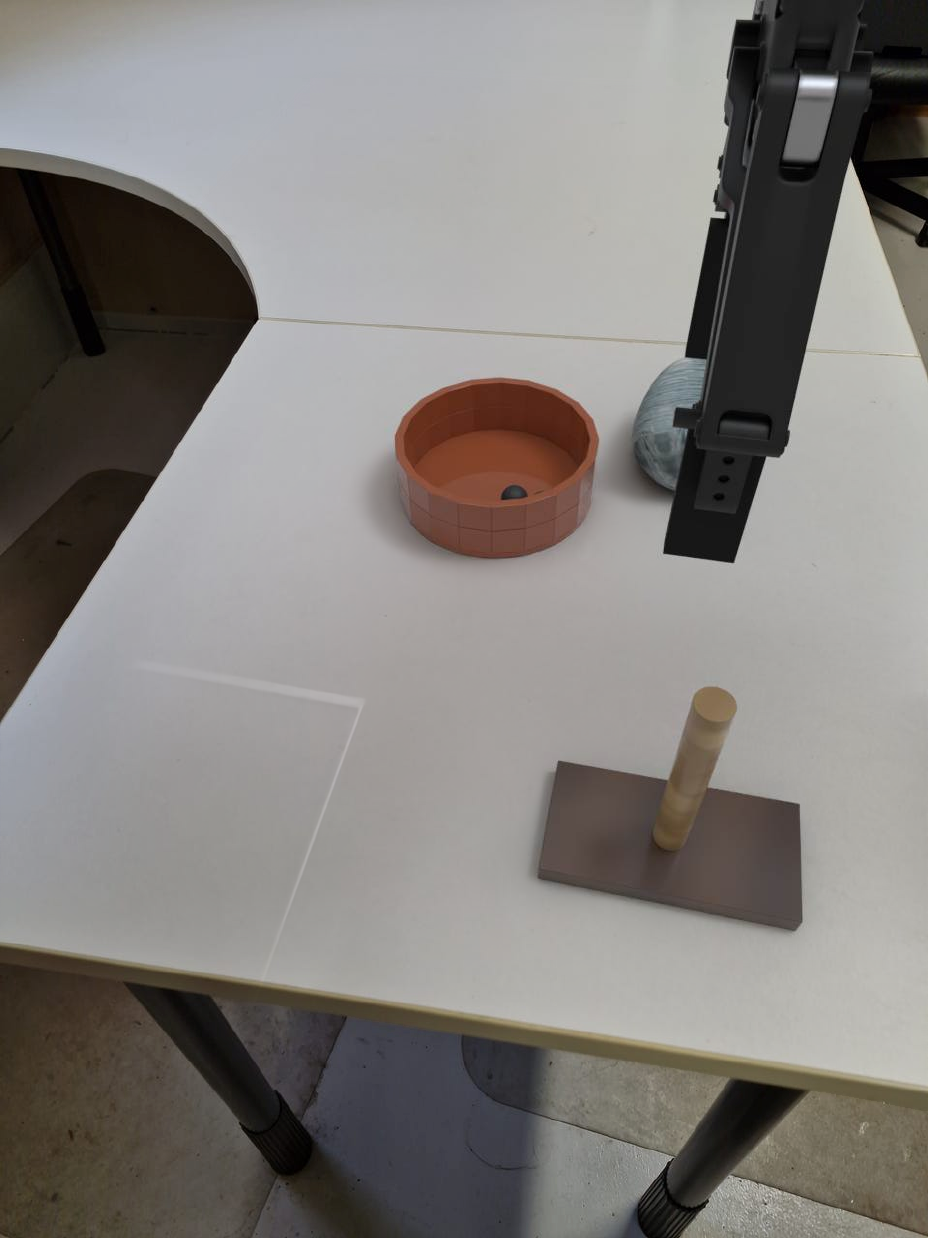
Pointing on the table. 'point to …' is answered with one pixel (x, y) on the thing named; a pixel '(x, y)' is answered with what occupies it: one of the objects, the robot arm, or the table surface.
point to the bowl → (496, 466)
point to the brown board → (690, 877)
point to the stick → (693, 765)
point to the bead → (513, 493)
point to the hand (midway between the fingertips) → (706, 443)
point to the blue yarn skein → (666, 419)
